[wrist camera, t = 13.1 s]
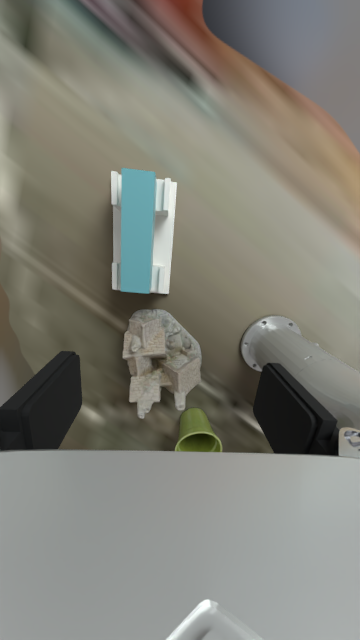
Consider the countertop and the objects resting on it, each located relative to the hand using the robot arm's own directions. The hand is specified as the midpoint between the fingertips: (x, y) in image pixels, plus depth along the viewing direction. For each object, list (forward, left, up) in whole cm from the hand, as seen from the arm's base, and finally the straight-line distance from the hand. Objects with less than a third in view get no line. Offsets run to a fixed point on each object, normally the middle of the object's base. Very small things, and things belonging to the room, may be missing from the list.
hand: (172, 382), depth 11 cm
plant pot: (-8, +30, -31) cm, 44 cm away
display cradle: (+5, -8, -30) cm, 32 cm away
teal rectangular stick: (+5, -8, -25) cm, 27 cm away
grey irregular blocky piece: (0, +12, -31) cm, 33 cm away
